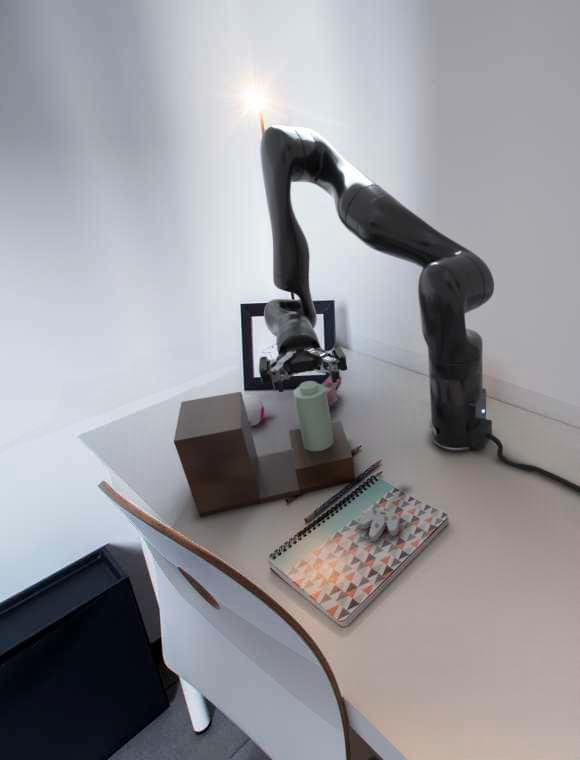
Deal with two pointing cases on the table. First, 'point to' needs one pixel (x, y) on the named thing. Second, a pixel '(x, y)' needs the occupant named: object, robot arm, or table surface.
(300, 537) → the table surface
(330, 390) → the pink lumpy piece
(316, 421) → the green knobbed cylinder
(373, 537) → the grey lobed piece
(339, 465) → the step shelf
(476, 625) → the table surface
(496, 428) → the table surface
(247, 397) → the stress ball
